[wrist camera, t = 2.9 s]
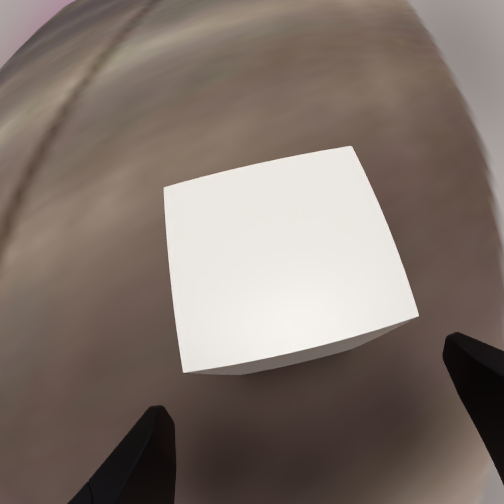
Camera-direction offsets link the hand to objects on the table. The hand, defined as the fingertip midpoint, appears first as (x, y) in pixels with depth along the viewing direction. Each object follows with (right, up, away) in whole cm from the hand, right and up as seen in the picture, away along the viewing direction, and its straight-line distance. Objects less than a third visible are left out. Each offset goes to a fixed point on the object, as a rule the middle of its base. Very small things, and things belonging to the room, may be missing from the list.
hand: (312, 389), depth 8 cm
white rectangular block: (0, 0, +11) cm, 11 cm away
